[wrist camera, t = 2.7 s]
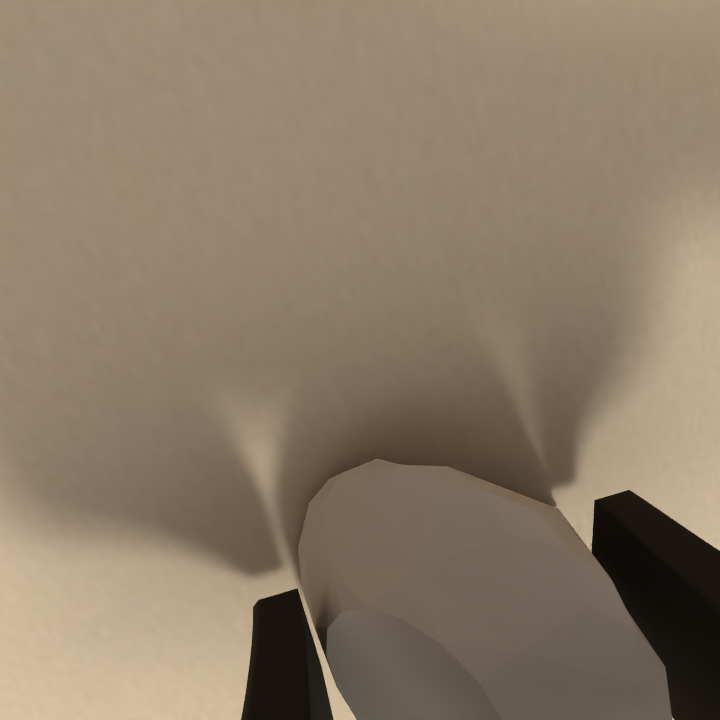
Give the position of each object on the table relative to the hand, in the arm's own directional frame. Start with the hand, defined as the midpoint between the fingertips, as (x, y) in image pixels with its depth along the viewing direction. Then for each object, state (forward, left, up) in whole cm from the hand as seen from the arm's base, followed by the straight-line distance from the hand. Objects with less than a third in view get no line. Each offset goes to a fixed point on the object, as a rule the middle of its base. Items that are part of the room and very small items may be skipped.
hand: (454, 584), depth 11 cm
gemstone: (0, 0, -2) cm, 2 cm away
